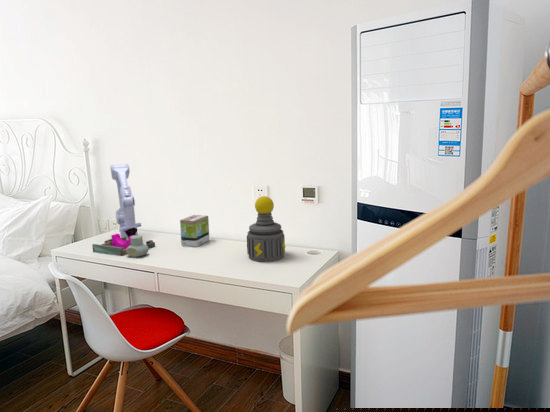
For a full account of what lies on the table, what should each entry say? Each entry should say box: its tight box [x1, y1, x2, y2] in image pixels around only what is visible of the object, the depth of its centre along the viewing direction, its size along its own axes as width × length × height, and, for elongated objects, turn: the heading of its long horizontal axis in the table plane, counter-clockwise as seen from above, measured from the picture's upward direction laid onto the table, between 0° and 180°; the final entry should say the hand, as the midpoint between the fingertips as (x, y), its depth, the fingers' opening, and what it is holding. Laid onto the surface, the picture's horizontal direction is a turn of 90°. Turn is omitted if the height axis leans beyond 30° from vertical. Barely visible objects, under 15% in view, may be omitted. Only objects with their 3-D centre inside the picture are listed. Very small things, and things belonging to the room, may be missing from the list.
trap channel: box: [91, 237, 156, 257], centre depth 234 cm, size 23×29×4 cm
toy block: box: [111, 233, 136, 250], centre depth 234 cm, size 15×6×8 cm, turn 65°
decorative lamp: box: [246, 195, 286, 263], centre depth 208 cm, size 19×19×30 cm
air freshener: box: [126, 234, 150, 258], centre depth 219 cm, size 11×8×10 cm
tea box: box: [179, 214, 210, 248], centre depth 238 cm, size 15×10×15 cm
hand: (131, 241), depth 240 cm, fingers closed
